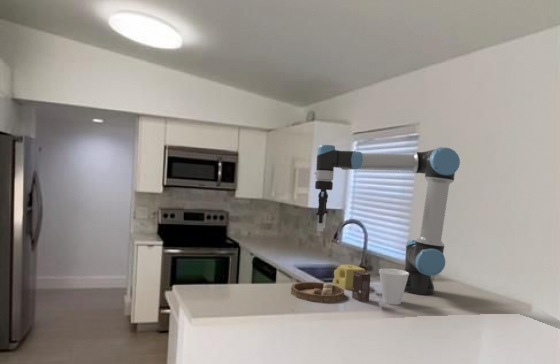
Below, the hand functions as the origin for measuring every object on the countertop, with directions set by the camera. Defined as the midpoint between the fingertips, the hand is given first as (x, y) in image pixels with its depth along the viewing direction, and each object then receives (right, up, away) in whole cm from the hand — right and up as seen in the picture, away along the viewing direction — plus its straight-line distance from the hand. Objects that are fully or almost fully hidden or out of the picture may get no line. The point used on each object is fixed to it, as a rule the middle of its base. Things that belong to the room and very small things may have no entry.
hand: (321, 229), depth 186 cm
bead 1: (+2, -25, -10) cm, 27 cm away
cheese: (+13, -27, +5) cm, 30 cm away
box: (+14, -27, -17) cm, 35 cm away
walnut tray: (-3, -26, -13) cm, 29 cm away
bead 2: (+1, -25, -18) cm, 31 cm away
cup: (+28, -28, -12) cm, 41 cm away
